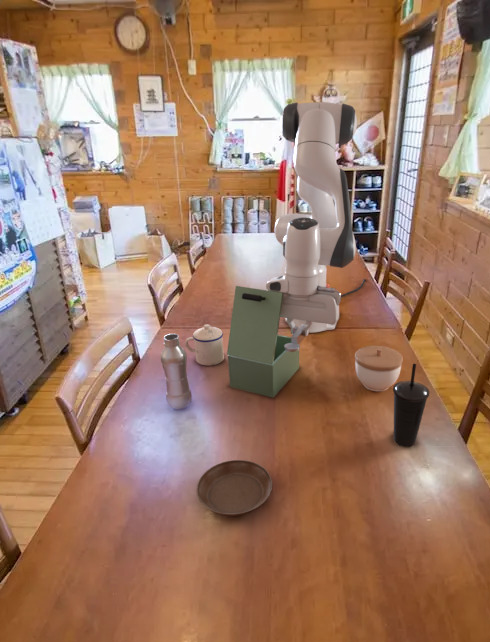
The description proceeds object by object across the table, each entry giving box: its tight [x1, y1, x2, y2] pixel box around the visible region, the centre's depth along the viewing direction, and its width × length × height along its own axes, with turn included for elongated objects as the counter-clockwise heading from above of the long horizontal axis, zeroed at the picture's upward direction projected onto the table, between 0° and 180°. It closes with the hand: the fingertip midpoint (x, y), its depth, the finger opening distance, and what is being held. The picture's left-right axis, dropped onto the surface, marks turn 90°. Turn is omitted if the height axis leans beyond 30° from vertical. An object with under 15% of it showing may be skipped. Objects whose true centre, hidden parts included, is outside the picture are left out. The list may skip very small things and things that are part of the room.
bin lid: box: [226, 285, 283, 364], centre depth 117 cm, size 19×14×5 cm
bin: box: [227, 334, 300, 399], centre depth 129 cm, size 18×14×10 cm
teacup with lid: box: [184, 323, 225, 367], centre depth 139 cm, size 12×9×12 cm
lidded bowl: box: [354, 345, 404, 392], centre depth 124 cm, size 13×13×11 cm
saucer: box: [196, 459, 273, 517], centre depth 90 cm, size 15×15×3 cm
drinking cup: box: [392, 363, 430, 448], centre depth 100 cm, size 8×8×20 cm
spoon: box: [284, 325, 307, 352], centre depth 119 cm, size 12×4×3 cm, turn 159°
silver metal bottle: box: [159, 333, 193, 410], centre depth 115 cm, size 6×7×20 cm
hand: (299, 334), depth 121 cm, fingers closed on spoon
